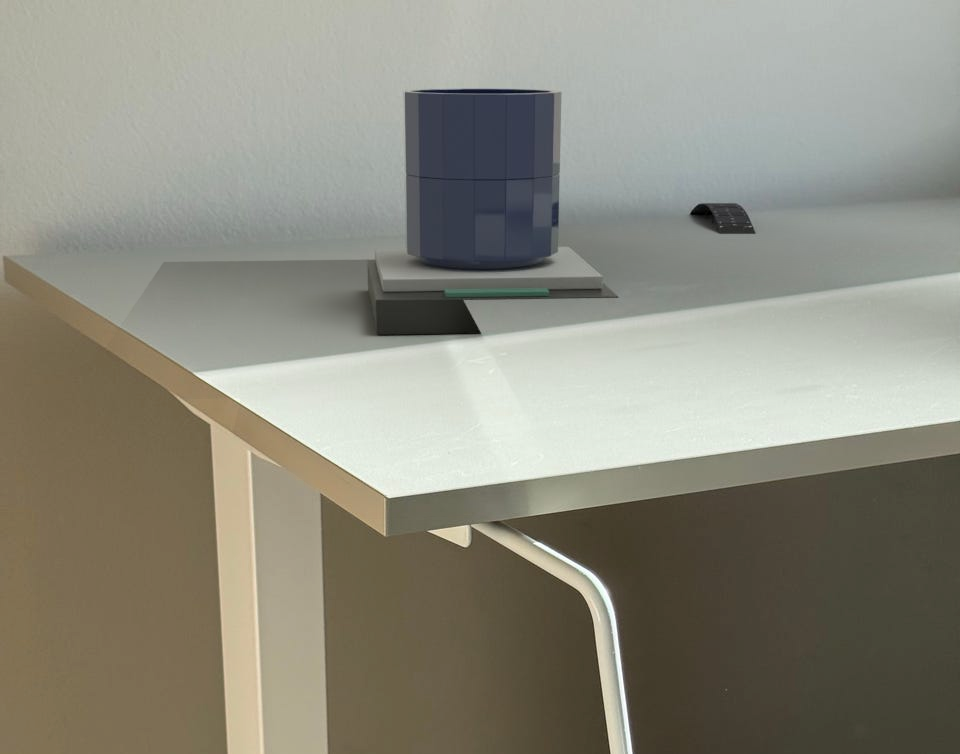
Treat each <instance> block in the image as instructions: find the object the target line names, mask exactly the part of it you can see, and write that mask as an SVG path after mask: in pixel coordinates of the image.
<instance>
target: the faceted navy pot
mask: <svg viewBox="0 0 960 754" xmlns="http://www.w3.org/2000/svg"><path fill="white" fill-rule="evenodd" d="M562 93H563V92H562V91H559V90H554V89H532V88H429V89H428V88H424V89H423V88H422V89H408V90H403V91H402V107H403V108H402V109H403V112H402V113H403V166H404V168H403V170H404V173H403V174H404V217H405V219H404V227H405V229H404V230H405V231H404V233H405V235H404V236H405V248H406V251H407V253H408V254H409V255H413V256H416V257H420V262H421V263H423V264H425V265H428V266H433V267H438V268H446V269H459V270H506V269H519V268H526V267H532V266H536V265H539V264H541V263H542V262H543V258H545V257H550V256H552V255H554V254H555V253H557V252H558V247H559V226H560V225H559V224H560V223H559V222H560V219H559V218H560V181H561V180H560V178H561V177H560V173H561V139H562V137H561V135H562V133H561V131H562Z"/></svg>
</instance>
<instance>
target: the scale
mask: <svg viewBox="0 0 960 754" xmlns="http://www.w3.org/2000/svg"><path fill="white" fill-rule="evenodd" d="M366 261H367V262H366V263H367V265H366V266H367V292H368V296H369V302H370V306H371V307H370V308H371V312H372V317H373V323H374V327H375V332H376V335H377V336H391V335H393V336H394V335H395V336H396V335H452V334H453V335H455V334H457V335H458V334H462V335H463V334H482V332H481V330H480V328H479V327H478V324H477V323H476V321H475V319H474V317H473V315H472V313H471V311H470V310H469V307H468V306H467V304H466V302H465V301H478V300H479V301H486V300H487V301H489V300H491V301H493V300H494V301H495V300H556V299H557V300H558V299H559V300H562V299H563V300H564V299H618V298H619V296H618V295H617V294H616V293H615V292H614V291H612V289H611V288H609V287H608V286H607V285H606V284H605V283H604V282H603V279H604V278H603V275H602V274H601V273H599V272H598V270H596V269H595V268H594V267H592V266H591V265H590V264H589V263H588V262H587V261H585V260H584V259H583V258H582V257H581V256H580V255H579V254H578V253H576V252H575V251H574V250H573V249H572V248H570V247H569V246H558V252H557V253H555V254H554V255H552V256H550V257H545V258H543V262H542V263H541V264H539V265H536V266H532V267H526V268H519V269H506V270H459V269H446V268H438V267H433V266H428V265H425V264H423V263H421V262H420V257H416V256H413V255H409V254H408V253H407V251H406V247H404V248H403V247H402V248H375V249H374V259H367V260H366Z"/></svg>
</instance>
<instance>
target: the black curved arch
mask: <svg viewBox="0 0 960 754" xmlns="http://www.w3.org/2000/svg"><path fill="white" fill-rule="evenodd" d="M689 215H705V220H707V216H708V215H711V216H712V219H711V223H712V224H714V219H715V222H716V224H717V229H718V231H719V234H720V235H755V234H756V231H755V228H754V226H753V223H752V221H751V219H750V217H749V215H748V213H747V211H746V210H745V209H744V207H743V206H741V205H740V204H738V203H736V202H733V203H732V202H731V203H729V202H728V203H726V202H724V203H723V202H722V203H717V202H716V203H715V202H713V203H712V202H707V203H706V202H705V203H704V202H703V203H698V204H697V205H695V206H694V207H693V208H692V209H691V210H690V213H689Z"/></svg>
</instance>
